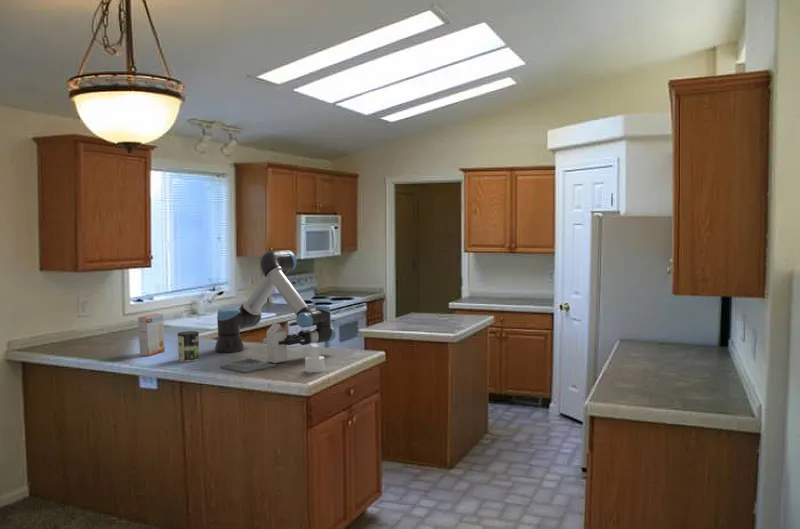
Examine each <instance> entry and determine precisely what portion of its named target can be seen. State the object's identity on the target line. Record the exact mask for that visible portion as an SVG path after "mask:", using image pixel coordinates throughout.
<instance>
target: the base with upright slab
mask: <svg viewBox="0 0 800 529" xmlns="http://www.w3.org/2000/svg"><path fill="white" fill-rule="evenodd" d="M304 365H305V366H304V368H305V370H304V371H305V372H306V373H312V372H315V373H320V372H321V373H322V372H324V371H325V356H322V355H320V346H319V345H318V343H313V344H309V356H306V357H304ZM312 374H313V373H312Z"/></svg>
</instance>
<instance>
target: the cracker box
mask: <svg viewBox="0 0 800 529" xmlns="http://www.w3.org/2000/svg"><path fill="white" fill-rule="evenodd" d="M137 322H138V342H139V343H138V344H139V357H150V356H153V355H157V354H159V353H162V352H163V351H164V352H165V347H166V346H165V332H164V331H165V330H164V328H165V327H164V314H163V313H153V314H147V315H142V316H139V317H137Z"/></svg>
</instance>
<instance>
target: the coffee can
mask: <svg viewBox="0 0 800 529" xmlns="http://www.w3.org/2000/svg"><path fill="white" fill-rule="evenodd" d="M199 336H200V335H199V331H195V330H193V331H192V330H190V331H189V330H187V331H181V332H177V344H178V345H177V349H178V361H179V362H180V363H181V362H182V363H187V362H188V363H189V362H191V361H192V362H196V361H199V360H200V338H199Z"/></svg>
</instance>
